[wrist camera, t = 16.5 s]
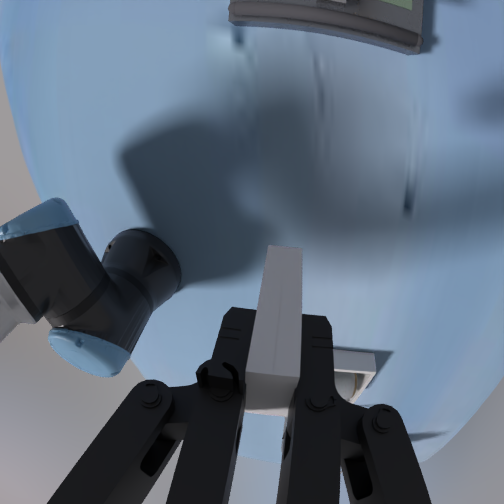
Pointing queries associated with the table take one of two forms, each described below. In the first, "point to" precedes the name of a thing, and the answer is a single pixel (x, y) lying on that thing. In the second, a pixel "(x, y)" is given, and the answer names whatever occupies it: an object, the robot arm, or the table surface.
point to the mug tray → (356, 368)
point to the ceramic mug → (346, 384)
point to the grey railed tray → (326, 19)
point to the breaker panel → (358, 3)
